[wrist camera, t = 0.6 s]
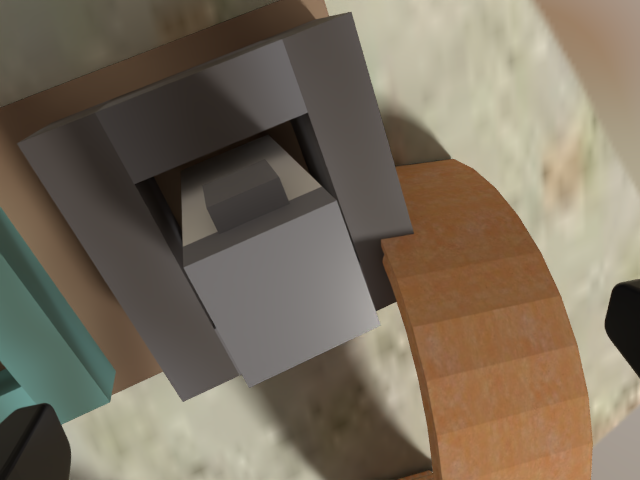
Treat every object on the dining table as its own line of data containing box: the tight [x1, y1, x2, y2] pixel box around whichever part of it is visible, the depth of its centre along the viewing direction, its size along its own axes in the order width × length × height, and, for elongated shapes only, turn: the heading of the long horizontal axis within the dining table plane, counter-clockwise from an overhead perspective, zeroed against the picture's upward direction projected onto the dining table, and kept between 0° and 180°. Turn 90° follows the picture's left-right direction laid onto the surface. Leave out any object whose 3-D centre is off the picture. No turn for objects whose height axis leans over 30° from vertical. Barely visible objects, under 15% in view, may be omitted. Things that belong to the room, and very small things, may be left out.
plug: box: [181, 135, 381, 388], centre depth 15 cm, size 4×4×9 cm
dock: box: [0, 0, 414, 425], centre depth 17 cm, size 24×12×5 cm, turn 110°
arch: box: [381, 159, 593, 480], centre depth 21 cm, size 6×20×10 cm, turn 3°
